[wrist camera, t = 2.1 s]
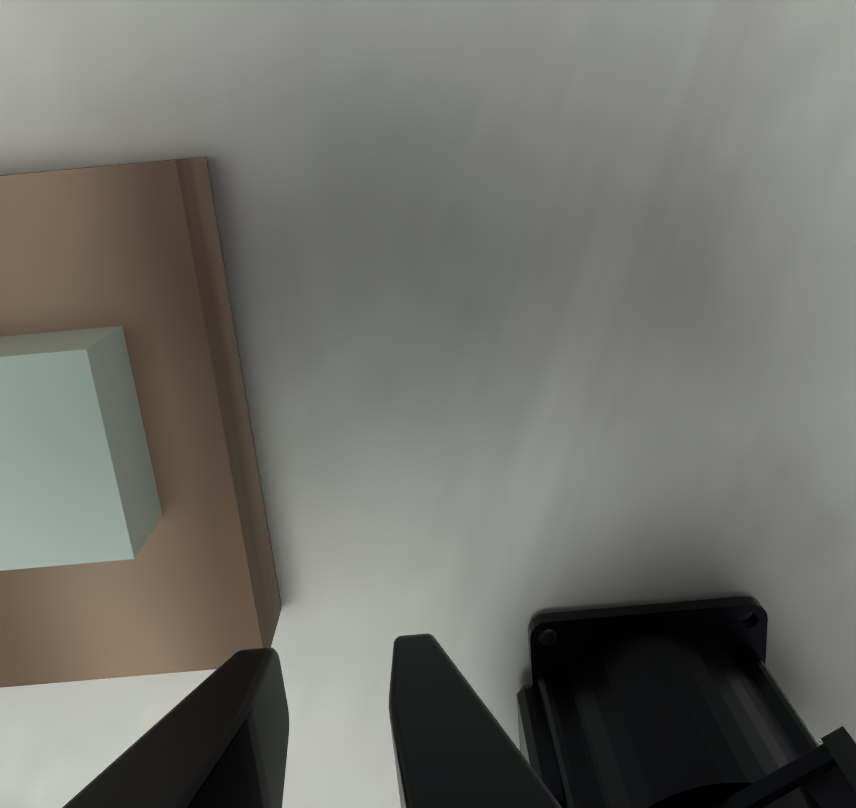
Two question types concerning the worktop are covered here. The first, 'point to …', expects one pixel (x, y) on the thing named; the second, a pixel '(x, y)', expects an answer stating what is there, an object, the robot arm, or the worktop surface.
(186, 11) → the worktop surface
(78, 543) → the tile
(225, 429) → the walnut ledge
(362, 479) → the worktop surface
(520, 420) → the worktop surface
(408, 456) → the worktop surface
